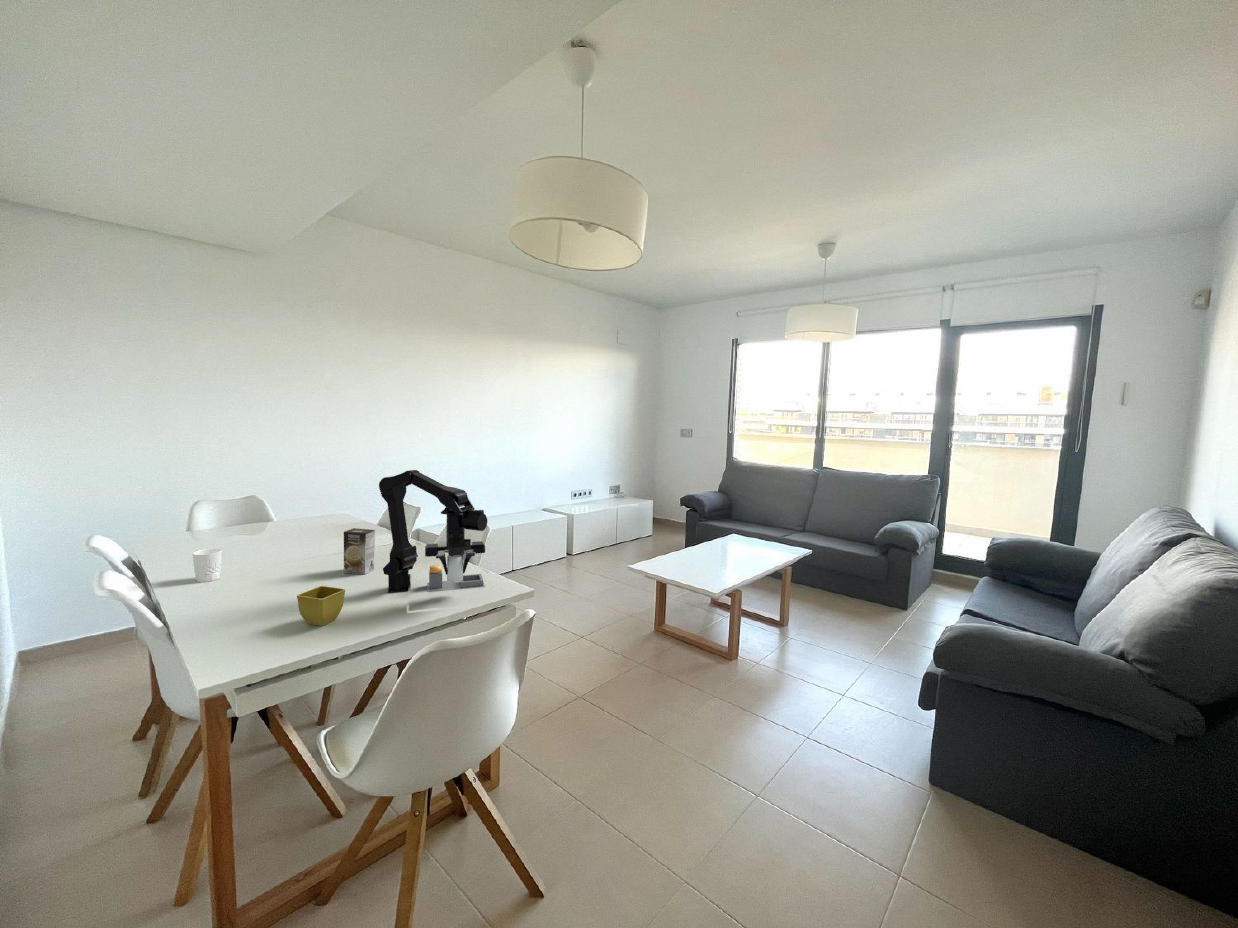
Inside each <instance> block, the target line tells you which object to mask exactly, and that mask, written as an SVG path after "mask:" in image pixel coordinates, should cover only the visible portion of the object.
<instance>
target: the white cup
mask: <svg viewBox="0 0 1238 928" xmlns="http://www.w3.org/2000/svg"><path fill="white" fill-rule="evenodd" d="M192 561H193V568H194V575H195V581H196V582H198V583H208V582H213V581H217V580H219V578H220V579H221V577H222V565H223V563H222V562H223V550H222V549H220V548H209V549H208V548H206V549H201V550H197V551H194V552H192Z"/></svg>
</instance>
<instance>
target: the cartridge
mask: <svg viewBox="0 0 1238 928" xmlns="http://www.w3.org/2000/svg"><path fill="white" fill-rule="evenodd" d="M463 562H464V555H454V556H450V555H449V554H448V555H447V558H446V564H447V575H446V579H447V580H446V581H447V582H450V583H458V582H461V581H463V575H464V574H463Z"/></svg>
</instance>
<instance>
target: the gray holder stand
mask: <svg viewBox="0 0 1238 928" xmlns="http://www.w3.org/2000/svg"><path fill="white" fill-rule="evenodd" d="M428 571H429V572H428V575H429V577H428V578H429V579H428V582H427V583H426V584H427V587H426V588H427V590H426V591H427V593H435V592H443V591H444V592H445V591H455V590H456V591H457V590H465V589H477V588H486V586H485V583H484V579H483V576H482V575H483V574H482V573H476V574H466V575H465V574H463V581H461V582H458V583H450V582H447V580H443V571H442V572H440V573H430V570H428Z"/></svg>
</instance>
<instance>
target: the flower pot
mask: <svg viewBox="0 0 1238 928" xmlns="http://www.w3.org/2000/svg"><path fill="white" fill-rule="evenodd" d="M345 595H346V589H345V588H340V587H333V586H328V585H327V586H326V585H320V586H317V587H315V588H312V589H309V590H307V591H305V592H301V593H299V594H297V595H296V600H297V605H298V606H297V607H298V611H299V613H300V616H301V618H302V619H303V621H304V622H305V623H307V625H313V626H319V627H323V626H325V625H327V624H330V623H331V622H334V621H335V620H336V619H338V616H339V615H340V614H341V611H342V609H343V608H344V607H343V606H344V602H345Z"/></svg>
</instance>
